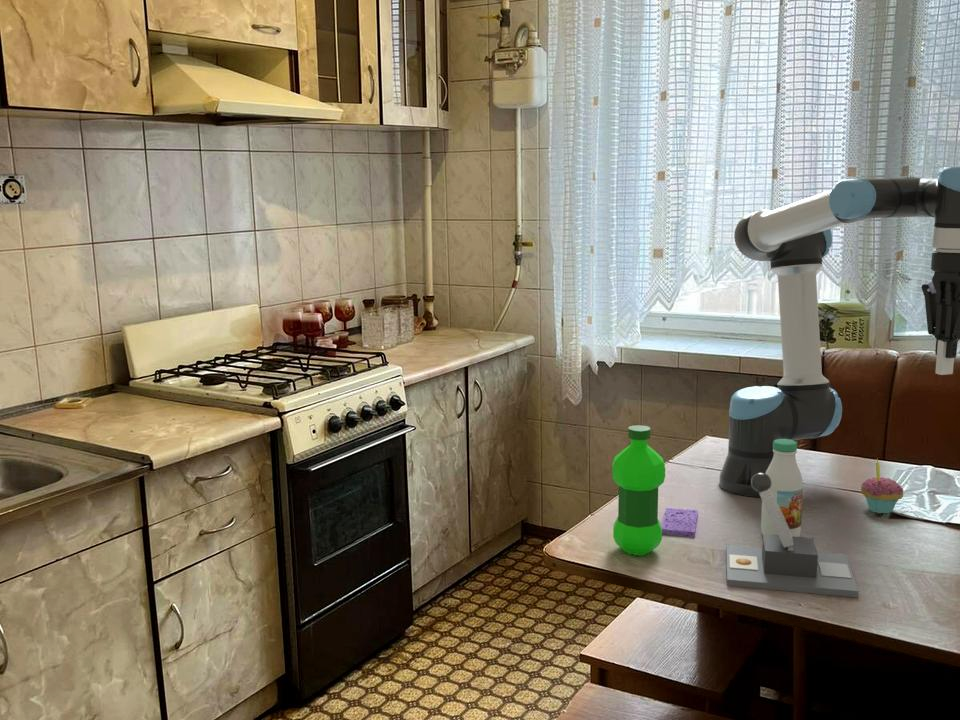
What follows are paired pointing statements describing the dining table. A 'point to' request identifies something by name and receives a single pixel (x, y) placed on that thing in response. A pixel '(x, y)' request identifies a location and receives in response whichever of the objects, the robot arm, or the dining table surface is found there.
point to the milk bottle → (784, 487)
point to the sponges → (679, 522)
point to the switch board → (790, 580)
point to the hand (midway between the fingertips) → (944, 373)
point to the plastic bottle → (638, 494)
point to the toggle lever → (772, 507)
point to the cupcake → (881, 493)
